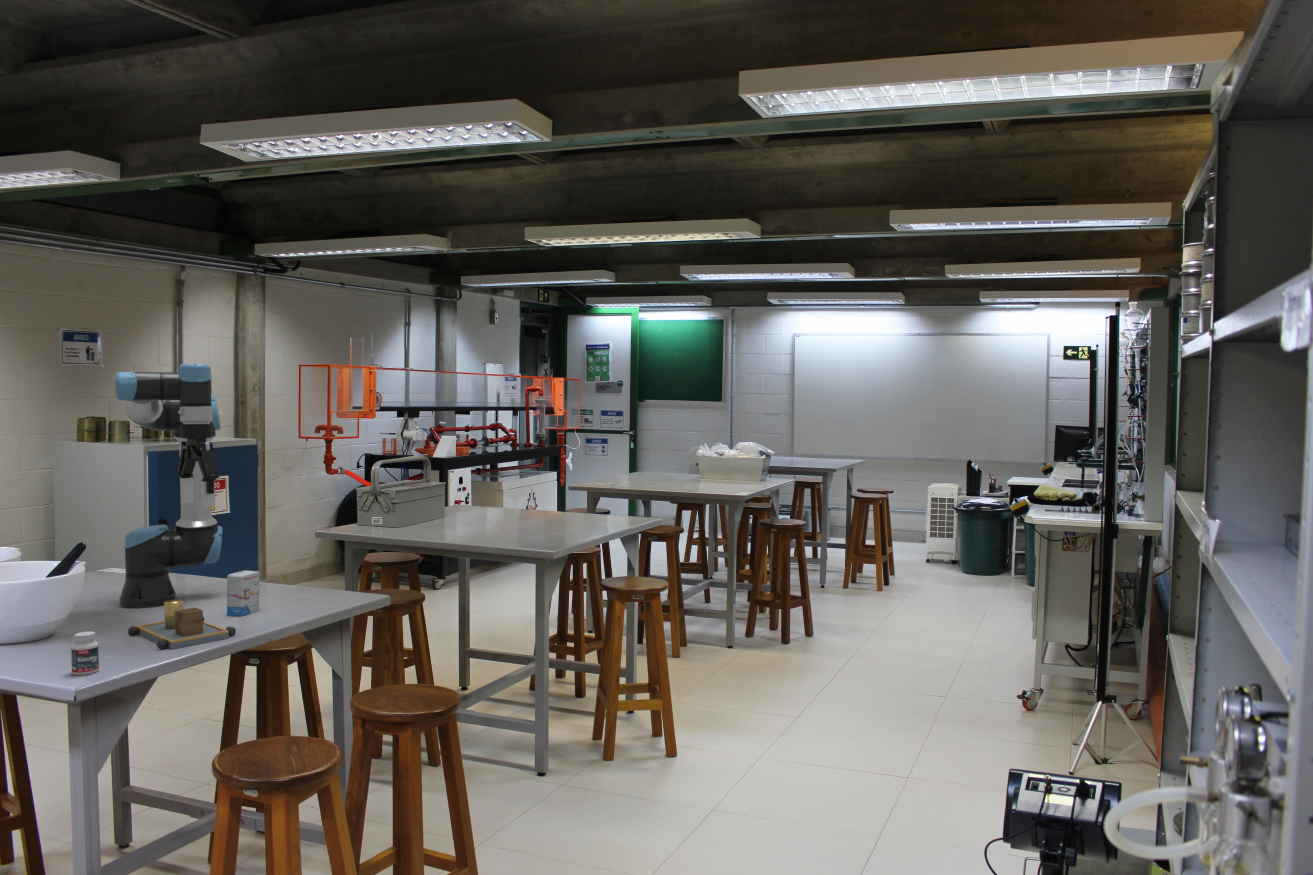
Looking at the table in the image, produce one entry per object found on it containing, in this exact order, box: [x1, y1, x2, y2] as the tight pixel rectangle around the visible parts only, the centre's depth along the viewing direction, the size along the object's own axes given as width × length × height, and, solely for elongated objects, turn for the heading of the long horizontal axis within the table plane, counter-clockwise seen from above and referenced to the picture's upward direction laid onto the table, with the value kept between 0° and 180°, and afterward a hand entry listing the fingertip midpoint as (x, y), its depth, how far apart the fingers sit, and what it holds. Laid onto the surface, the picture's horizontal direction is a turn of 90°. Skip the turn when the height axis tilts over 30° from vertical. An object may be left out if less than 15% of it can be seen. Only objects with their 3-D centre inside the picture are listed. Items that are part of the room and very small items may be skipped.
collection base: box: [127, 616, 237, 650], centre depth 239 cm, size 24×19×2 cm
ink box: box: [226, 570, 260, 617], centre depth 265 cm, size 8×5×12 cm, turn 168°
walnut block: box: [175, 607, 204, 637], centre depth 236 cm, size 5×5×6 cm
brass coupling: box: [163, 598, 184, 629], centre depth 242 cm, size 4×4×7 cm
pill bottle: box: [70, 631, 100, 676], centre depth 207 cm, size 5×5×9 cm
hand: (198, 504), depth 237 cm, fingers open, 13 cm apart
